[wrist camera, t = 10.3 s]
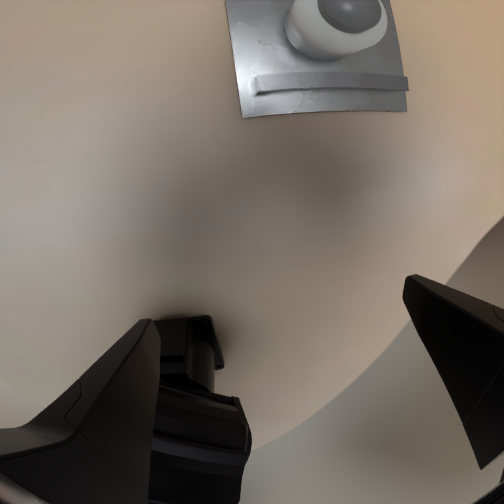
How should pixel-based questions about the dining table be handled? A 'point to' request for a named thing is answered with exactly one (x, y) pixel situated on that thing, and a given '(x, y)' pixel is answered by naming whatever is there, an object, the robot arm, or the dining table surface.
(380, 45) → the cradle
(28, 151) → the dining table surface
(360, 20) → the grey capped cylinder
